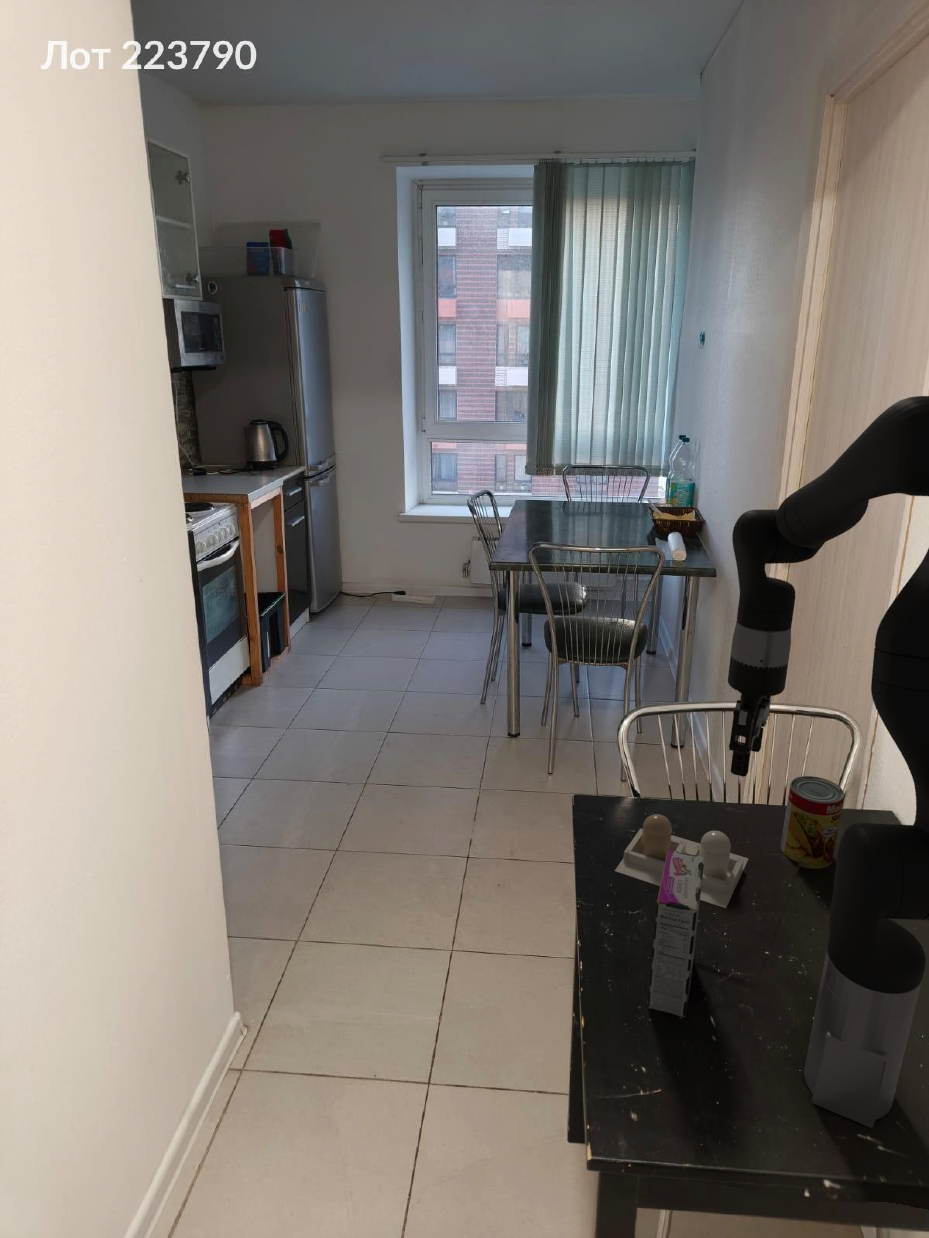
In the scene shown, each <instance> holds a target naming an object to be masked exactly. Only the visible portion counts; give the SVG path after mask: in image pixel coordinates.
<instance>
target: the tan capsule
mask: <svg viewBox="0 0 929 1238" xmlns="http://www.w3.org/2000/svg"><path fill="white" fill-rule="evenodd" d="M642 825H643V826H642V829H643V832H642V843H641V854H642V855H645V856H648V857H651V858H655V859H658V860H661V861H664V862H665V859H666V854H667V851H668V850H669V851H670V842H671V835H672V831H673V830H672V829H673V828H672V823H671V821H670V820H669V819H668V817H666V816H665V815H662V814H659V813H654V814H651V815H649V816H648V817H646V819H645V820H644V822H643V824H642Z"/></svg>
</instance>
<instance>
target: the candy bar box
mask: <svg viewBox="0 0 929 1238" xmlns="http://www.w3.org/2000/svg"><path fill="white" fill-rule="evenodd" d="M703 868H704V857H702V856H696V855H690V854H686V853H679V852H677V851H669V850H668V851H667V854H666V859H665V865H664V870H663V875H662V880H661V885H660V886H659V890H658V895H657V900H656V911H655V922H654V932H653V934H654V935H653V945H652V958H651V959H652V960H651V967H650V969H651V970H650V979H649V990H648V1001H647V1008H648V1009H650V1010H652V1009H654V1010H653V1011H655V1010H656V1011H655V1012H659V1011H660V1013H665V1014H668V1015H669V1014H670V1015H673V1016H677V1017H680V1018H686V1016H687V1009H688V1003H689V996H690V989H691V984H692V983H691V982H692V975H693V968H694V967H693V966H694V957H695V946H696V938H697V932H698V931H697V929H698V920H699V911H700V904H701V900H700V896H701V887H702V878H703Z"/></svg>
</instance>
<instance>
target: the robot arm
mask: <svg viewBox="0 0 929 1238" xmlns="http://www.w3.org/2000/svg"><path fill="white" fill-rule="evenodd" d="M893 494H894V495H895V494H902V495H906V496H909V497H910V496H911V497H929V395H917V396H912V397H911V396H910V397H907V398H903V399H901V400H898V401H896V402H895V403H893V404H891V406H888V407H887V409H885V410H884V411H882V413H881V414H879V415H878V416H877V417H876V418H875V419H874V420H873V421H872V422H871V423H870V424H869V426H867V427H866V429H864V431H863V432H862V433H861V434H860V435H859V436H858V437H857V438H856V439H855V440H854V441H853V442H852V443H851V444H850V445H849V446H848V448H847V449H846V450H845V451H844V452H843V453H842V454H841V455H840V456H839V457H838V459H837V460H835V462H834V463H832V465H831V466H830V467H828V469H826V470H825V471H824V472H823V473H821V475H819V476H817V477H816V478H815V479H813V480H811V481H810V482H808V483H807V484H805V485H803V486H802V487H800V488H799V489H797V490H796V491H794V492H793V493H791V494H790V495H788V496H787V497H786V498H785V499H784V500H783V501H782V502H781V504H780V505H779V507H778V509H777V508H776V509H775V508H774V509H750V510H748V511H745V512H743V513H742V514H740V516H739V517H738V518H737V520H736V522H735V523H734V526H733V529H732V541H731V542H732V547H733V549H732V550H733V552H734V554H733V555H734V558H735V564H736V568H737V576H738V585H739V586H738V588H739V598H738V604H737V605H738V607H737V613H736V615H737V616H736V620H735V621H736V623H735V627H734V630H733V634H732V639H731V641H732V642H731V648H730V655H729V665H728V674H727V683H728V685H729V686H730V688H731V689H733V690H735V691H737V692H739V693H740V694H741V695H740V698H739V699H737V700H736V704H735V706H734V710H733V711H732V714H733V718H732V723H731V732H730V741H729V744H728V750H729V751H732V756H731V764H730V773H731V774H732V775H735V776H739V777H747V776H748V773H749V769H750V760H751V753H752V752H755V753H758V752H760V751H761V749H762V743H763V738H764V737H763V735H764V728H765V727H766V725H767V723H768V722H767V721H768V720H769V717H770V714H771V713H770V708H771V704H772V697H773V696H777V695H780V694H781V693H783V692H784V691H785V688H786V682H787V676H788V668H789V662H790V661H789V660H790V655H791V648H792V647H791V645H792V624H793V619H794V611H795V610H794V609H795V605H796V604H795V603H796V588H795V587H794V586H793V584H791V583H790V582H788V581H786V580H783V579H780V578H777V577H770V576H768V575H767V573H766V565H767V564H768V565H769V564H770V565H772V564H774V565H775V564H776V565H777V564H797V563H802V562H805V561H808V560H810V559H812V558H814V557H815V555H817V553H818V552H819V551H820V550H821V548H822V547H823V546H824V545H825V543H826V542H828V541H830V540H833V539H834V538H837V537H838V536H841V535H843V534H844V533H846V532H848V531H850V530H851V529H852V528H854V527H855V526H857V524H858V523H859V522H861V520H862V519H863V517H864V516H865V514H866V511H867V510H868V508H869V503H870V500H873V499H876V498H880V497H883V496H889V495H893ZM877 627H878V628H877V630H876V634H875V641H874V649H873V662H872V671H871V673H872V674H871V681H870V682H871V683H870V684H871V685H870V691H871V692H870V693H871V697H872V701H873V704H874V706H875V707H874V708H875V709H876V711H877V713H878V716H879V718H880V720H881V721H882V723H883V725H884V727H885V728H886V730H887V732H888V733H889V736H890V737H891V739H892V740H893V742H894V744H895V745H896V747H897V748H898V751H900V752H899V753H900V754H901V756H902V758H903V759H904V761H905V763H906V765H907V768H908V770H909V773H910V775H911V777H912V781H913V785H914V791H915V793H914V794H915V807H916V808H915V818H914V823H913V824H899V823H898V824H897V823H896V824H894V823H893V824H892V823H870V822H869V823H867V822H866V823H865V822H864V823H863V822H857V823H853V824H851V825H849V826H848V827H847V828H846V829H845V831H844V833H843V834H842V836H841V838H840V841H839V845H838V850H837V855H836V856H837V857H836V864H835V872H834V880H833V881H834V882H833V883H834V884H833V888H832V889H833V890H832V895H831V896H832V897H831V905H830V908H829V909H830V910H829V925H828V926H829V927H828V928H829V931H828V932H829V934H828V941H827V947H826V953H825V958H824V963H823V968H822V973H821V977H820V978H821V979H820V983H819V989H818V992H817V993H818V994H817V999H816V1005H815V1011H814V1015H813V1021H812V1026H811V1031H810V1035H809V1036H810V1037H809V1041H808V1042H809V1043H808V1048H807V1053H806V1059H805V1065H804V1069H803V1071H804V1073H803V1075H804V1080H805V1083H806V1085H807V1087H808V1090H810V1091H809V1092H811V1095H812V1098H811V1103H812V1104H813V1105H816V1106H817V1107H821V1108H823V1109H824V1110H828V1111H830V1112H832V1113H835V1114H836V1115H837V1114H838V1115H839V1116H842V1117H844V1118H847V1119H849V1120H852V1121H854V1122H856V1123H859V1124H861V1125H863V1126H865V1127H868V1128H872V1129H873V1128H874V1126H875V1122H876V1121H877V1120H879V1119H881V1118H884V1117H885V1116H886V1115H887V1114H888V1113H889V1112H890V1110H891V1109H892V1107H893V1104H894V1099H895V1095H896V1091H897V1088H898V1082H899V1079H900V1073H901V1069H902V1066H903V1065H902V1064H903V1060H904V1056H905V1054H906V1053H905V1051H906V1048H907V1044H908V1039H909V1035H910V1031H911V1028H912V1027H911V1026H912V1023H913V1019H914V1013H915V1009H916V1007H917V1002H918V998H919V994H920V989H921V987H922V982H923V981H922V980H923V977H924V973H925V969H926V961H927V958H926V953H925V950H924V948H923V946H922V944H921V943H920V941H919V940H918V938H917V937H915V935H914V934H913V933H912V932H911V931H909V930H908V929H906V928H905V927H903V926H902V925H901V924H899V923H897V922H895V921H894V920H895V919H896V920H911V921H913V920H914V921H915V920H916V921H929V547H928V549H927V550H926V553H925V555H924V557H923V559H922V560H921V562H920V564H918V567H917V568H916V569H915V571H914V572H913V574H912V575H911V577H910V578H909V579H908V580H907V582H906V583H905V584H904V585H903V587H902V588H901V590H900V592H899V593H898V594H897V595H896V597H895V599H894V600H893V601H892V602H891V604H890V605H889V607H888V608H887V610H886V612H885V613H884V614H883V617H882V618H881V620H880V622H879V624H878V626H877ZM740 737H743V738H744V742H743V741H739V739H740ZM891 919H892V920H891ZM893 919H894V920H893Z"/></svg>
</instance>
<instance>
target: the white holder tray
mask: <svg viewBox="0 0 929 1238" xmlns="http://www.w3.org/2000/svg"><path fill="white" fill-rule="evenodd" d="M642 832H643V828H641V827H640V828H639V830H638V831H637V833H636V834H635V836H634V837H633V839H632V840H631V842H630V843H629V844H628V845H627V846H626V848H625V849H624V852H623V858H622V860H620V862H619V864H618V865H617V867H616V869H614V872H616V873H619V874H622V875H626V876H628V877H631V878H634V879H637V880H640V881H643V882H646V883H649V884H651V885H655V886H657V887H660V885H661V880H662V875H663V870H664V865H665V862H664V861H661V860H658V859H655V858H651V857H648V856H645V855H642V854H641V843H642ZM700 844H701V843H699V842H695V841H692V840H689V839H685V838H683V837H679V836H676V835H672V834H671V842H670V851H677V852H679V853H686V854H690V855H696V856H699V852H700ZM748 861H749V858H748V857H744V856H741V855H739V854H735V853H732V852H730V857H729V864H728V870H727V877H726V879H725V880H724V881H723V880H720V879H717V878H714V877H711V876H707V875H704V874H703V878H702V887H701V896H700V901H703V902H705V903H709V904H711V905H715V906H718V907H721V908H723V909H727V906H728V904H729V902H730V900H731V898H732V896H733V895H734V894H733V893H734V891H735V889H736V887H737V885H738V883H739V881H740V878H741V876H742V874H743V872H744V870H745V868H746V866H747V863H748Z"/></svg>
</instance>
